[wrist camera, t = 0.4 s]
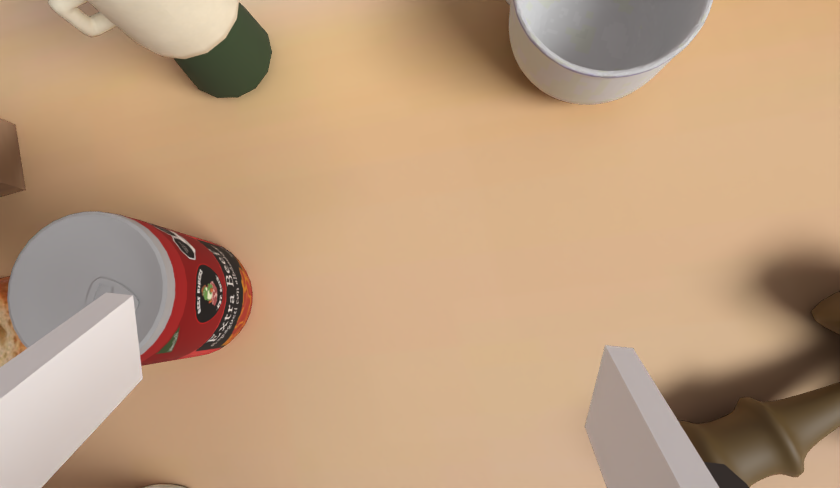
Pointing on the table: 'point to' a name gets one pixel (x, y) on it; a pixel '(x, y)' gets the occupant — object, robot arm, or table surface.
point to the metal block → (10, 160)
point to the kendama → (772, 424)
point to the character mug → (186, 37)
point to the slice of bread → (7, 328)
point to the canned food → (131, 283)
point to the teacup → (599, 43)
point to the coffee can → (165, 486)
